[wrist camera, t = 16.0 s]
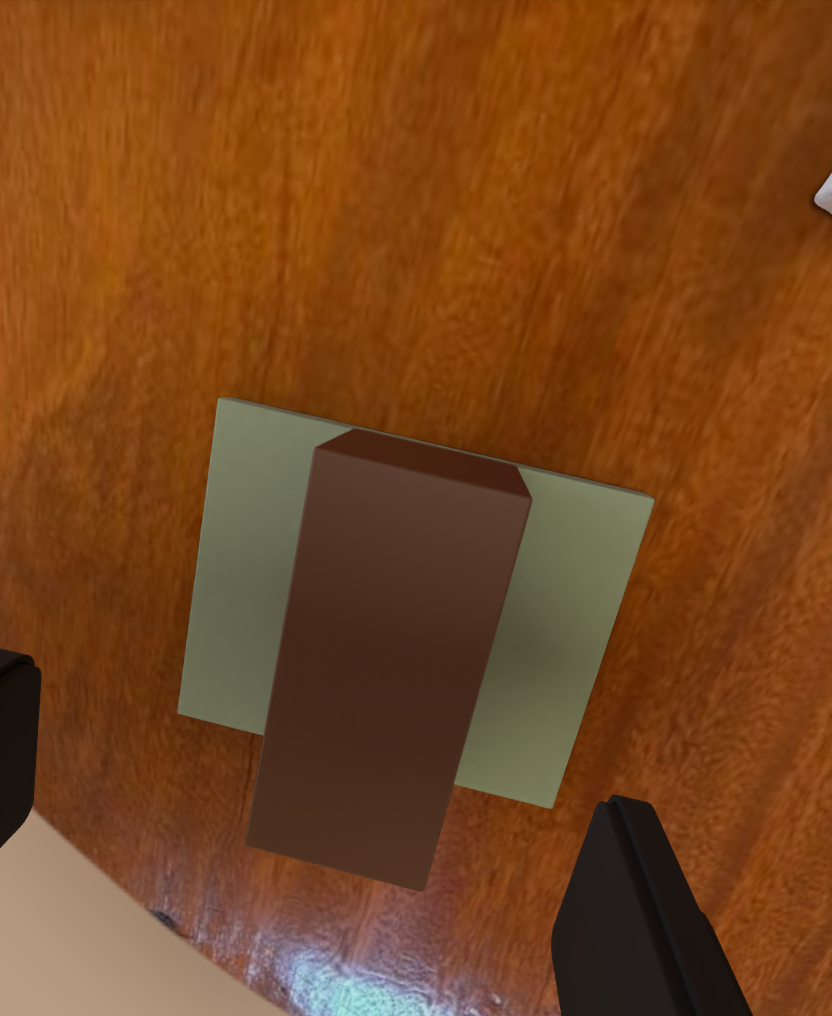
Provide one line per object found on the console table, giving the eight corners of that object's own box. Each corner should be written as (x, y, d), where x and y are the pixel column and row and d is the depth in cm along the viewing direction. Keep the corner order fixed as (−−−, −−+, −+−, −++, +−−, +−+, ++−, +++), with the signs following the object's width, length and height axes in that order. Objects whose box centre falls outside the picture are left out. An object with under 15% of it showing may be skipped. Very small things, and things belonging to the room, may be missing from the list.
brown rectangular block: (292, 743, 18) (243, 847, 14) (353, 427, 15) (313, 445, 11) (434, 779, 18) (423, 894, 14) (517, 465, 15) (534, 497, 11)
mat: (188, 700, 19) (176, 714, 18) (229, 396, 16) (217, 397, 15) (549, 791, 18) (552, 810, 17) (647, 492, 16) (656, 499, 15)
